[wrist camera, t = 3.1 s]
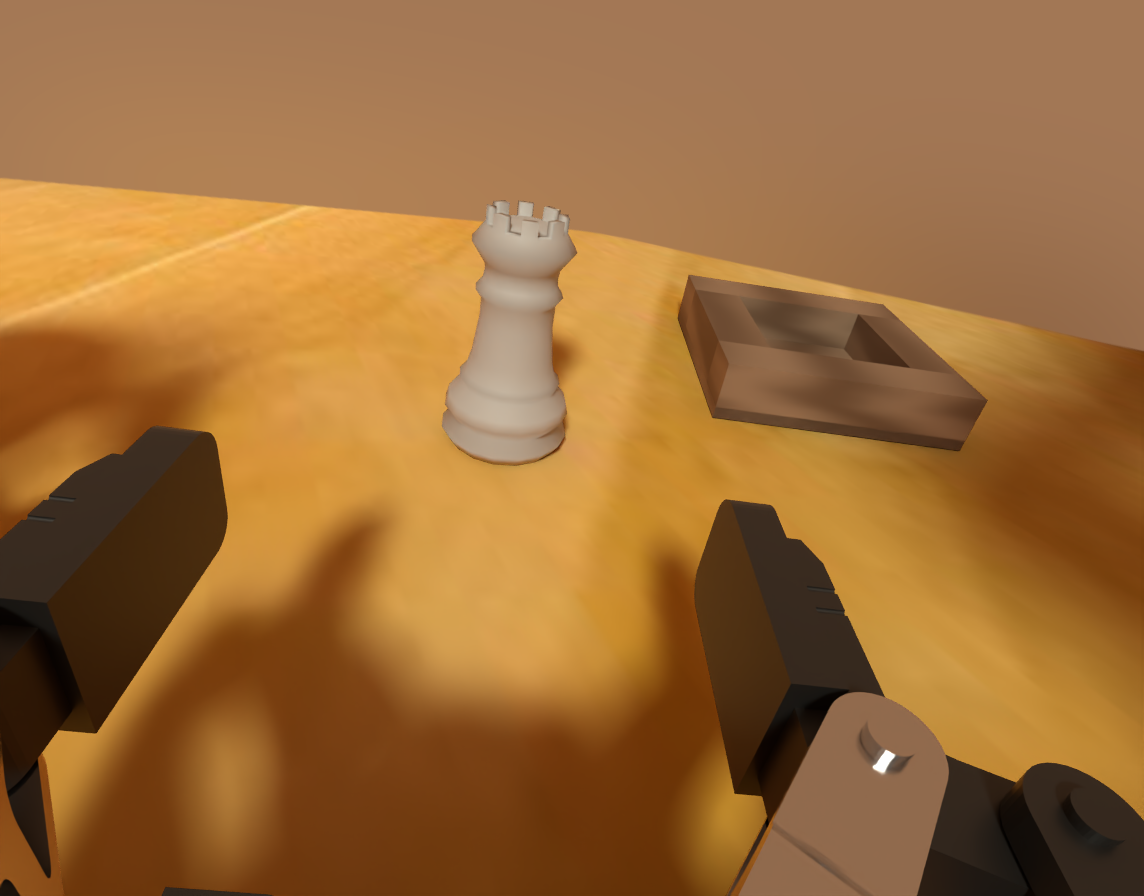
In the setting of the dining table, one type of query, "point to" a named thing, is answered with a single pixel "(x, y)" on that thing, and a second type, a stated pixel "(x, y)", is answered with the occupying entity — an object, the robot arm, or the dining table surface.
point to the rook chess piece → (513, 341)
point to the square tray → (821, 366)
